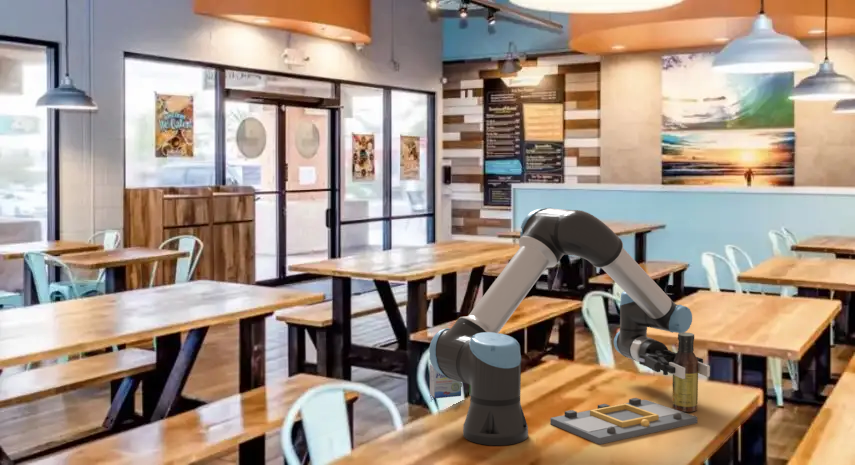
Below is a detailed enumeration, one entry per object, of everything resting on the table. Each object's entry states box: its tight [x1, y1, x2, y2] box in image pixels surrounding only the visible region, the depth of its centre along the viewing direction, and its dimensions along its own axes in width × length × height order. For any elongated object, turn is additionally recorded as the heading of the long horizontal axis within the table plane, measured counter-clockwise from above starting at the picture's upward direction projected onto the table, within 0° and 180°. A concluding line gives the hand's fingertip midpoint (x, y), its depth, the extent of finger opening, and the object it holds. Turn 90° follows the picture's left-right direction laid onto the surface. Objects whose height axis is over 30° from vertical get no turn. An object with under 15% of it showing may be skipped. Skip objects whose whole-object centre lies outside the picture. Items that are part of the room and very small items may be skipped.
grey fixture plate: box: [549, 397, 698, 445], centre depth 216 cm, size 31×18×3 cm, turn 120°
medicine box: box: [429, 363, 462, 399], centre depth 242 cm, size 8×4×9 cm, turn 105°
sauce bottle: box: [671, 331, 699, 413], centre depth 226 cm, size 7×6×20 cm
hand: (696, 372), depth 221 cm, fingers closed on sauce bottle, 6 cm apart
